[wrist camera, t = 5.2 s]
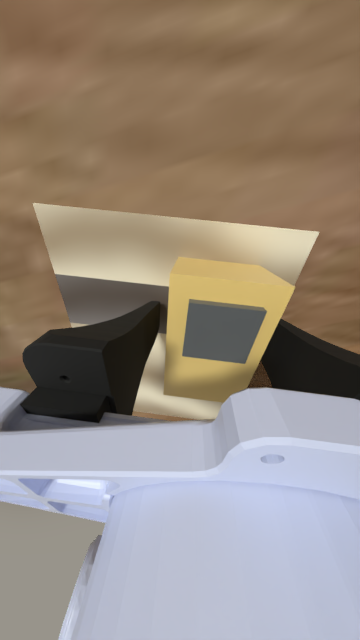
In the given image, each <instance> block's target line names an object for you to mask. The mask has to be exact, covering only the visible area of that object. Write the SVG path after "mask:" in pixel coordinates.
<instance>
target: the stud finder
mask: <svg viewBox="0 0 360 640" xmlns="http://www.w3.org/2000/svg"><path fill="white" fill-rule="evenodd" d="M294 289H295V287H294V286H293V285H291V284H289V283H288V282H286V281H284V280H283V279H281V278H280V277H278V276H276V275H275V274H273V273H271V272H270V271H268V270H266V269H265V268H263V267H261V266H259V265H250V264H241V263H231V262H222V261H213V260H203V259H194V258H185V257H178V259H177V261H176V263H175V265H174V266H173V268H172V270H171V272H170V279H169V298H168V316H167V335H166V354H165V372H164V391H163V395H168V396H176V397H183V398H191V399H199V400H207V401H214V402H222V403H224V402H225V401H226V400H227V399H228V398H229V397H230V396H231V395H232V394H233V393H236V392H239V391H241V390H244V389H246V388H247V387H248V385H249V383H250V381H251V379H252V377H253V375H254V372H255V370H256V368H257V366H258V364H259V362H260V360H261V358H262V356H263V354H264V352H265V350H266V347H267V345H268V343H269V341H270V339H271V337H272V335H273V333H274V331H275V329H276V327H277V325H278V323H279V320H280V318H281V316H282V314H283V312H284V310H285V308H286V306H287V304H288V302H289V300H290V298H291V295H292V293H293V291H294Z"/></svg>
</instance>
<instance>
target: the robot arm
mask: <svg viewBox="0 0 360 640" xmlns="http://www.w3.org/2000/svg"><path fill="white" fill-rule="evenodd" d="M159 327H160V302H158V301H150V302H148V303H146V304H145V305H143V306H141V307H139V308H137V309H135V310H133V311H131V312H129V313H127V314H125V315H122V316H120V317H117V318H114V319H111V320H108V321H104V322H100V323H96V324H92V325H86V326H81V327H74V328H65V329H55V330H49V331H48V332H47V333H45V334H44V335H42V336H41V337H40V338H38V339H37V340H36V341H34V342H33V343H32V344H30V345H29V346H27V347H26V348H25V349H24V352H23V362H24V365H25V367H26V369H27V370H28V372H29V374H30V375H31V377H32V379H33V381H34V382H35V384H36V386H37V388H36V389H35V390H34V391H33V392H32V393H31V394H30V393H28V392H26V391H24V390H20V389H12V388H5V387H0V501H2V502H7V503H13V504H17V505H23V506H28V507H33V508H37V509H42V510H46V511H51V512H56V513H61V514H66V515H70V516H75V517H80V518H84V519H89V520H94V521H98V522H103V523H106V524H105V527H104V530H103V534H102V535H98V536H97V538H96V539H95V540H94V541H93V542H92V543H91V544H90V546H89V549H88V552H87V554H86V556H85V559H84V562H83V565H82V567H81V570H80V573H79V576H78V579H77V582H76V585H75V588H74V591H73V594H72V597H71V600H70V603H69V606H68V609H67V613H66V616H65V619H64V622H63V625H62V628H61V632H60V635H59V638H58V640H360V355H359V354H356V353H354V352H351V351H348V350H345V349H343V348H340V347H338V346H335V345H333V344H330V343H328V342H326V341H323V340H321V339H319V338H317V337H315V336H313V335H311V334H309V333H307V332H305V331H303V330H301V329H299V328H297V327H295V326H293V325H292V324H290V323H288V322H286V321H284V320H282V319H280V320H279V323H278V325H277V327H276V329H275V331H274V333H273V335H272V337H271V339H270V341H269V343H268V345H267V347H266V350H265V352H264V354H263V356H262V358H261V361H262V364H263V366H264V368H265V370H266V372H267V374H268V376H269V379H270V381H271V384H272V387H273V388H268V387H261V388H246V389H244V390H241V391H239V392H236V393H233V394H232V395H231V396H230V397H229V398H228V399H227V400H226V401H225V402H224V403H223V404H222V405H221V408H220V410H219V413H218V416H217V417H216V419H203V420H186V421H167V420H159V419H152V418H144V417H137V416H132V412H133V408H134V404H135V401H136V397H137V393H138V389H139V386H140V382H141V378H142V375H143V371H144V368H145V365H146V362H147V359H148V357H149V355H150V352H151V350H152V347H153V345H154V343H155V340H156V338H157V335H158V331H159Z"/></svg>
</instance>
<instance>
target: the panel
mask: <svg viewBox="0 0 360 640" xmlns="http://www.w3.org/2000/svg"><path fill="white" fill-rule="evenodd" d="M33 206H34V209H35V212H36V215H37V218H38V222H39V225H40V228H41V231H42V234H43V237H44V240H45V244H46V247H47V250H48V253H49V256H50V259H51V263H52V266H53V269H54V272H55V275H56V278H57V282H58V285H59V288H60V291H61V294H62V297H63V301H64V304H65V307H66V310H67V313H68V316H69V319H70V323H71V326H72V328H74V327H81V326H86V325H92V324H96V323H100V322H104V321H108V320H111V319H114V318H117V317H120V316H122V315H125V314H127V313H129V312H131V311H133V310H135V309H137V308H139V307H141V306H143V305H145V304H146V303H148V302H150V301H158V302H160V327H159V331H158V335H157V338H156V340H155V343H154V345H153V347H152V350H151V352H150V355H149V357H148V359H147V362H146V365H145V368H144V371H143V375H142V378H141V382H140V386H139V389H138V393H137V397H136V401H135V404H134V408H133V411H138V412H146V413H153V414H161V415H168V416H176V417H183V418H191V419H199V420H203V419H216V417H217V416H218V413H219V410H220V408H221V405H222V404H223V403H222V402H214V401H207V400H199V399H191V398H183V397H176V396H168V395H163V391H164V372H165V354H166V335H167V316H168V298H169V279H170V272H171V270H172V268H173V266H174V265H175V263H176V261H177V259H178V257H185V258H194V259H203V260H213V261H222V262H231V263H241V264H250V265H259V266H261V267H263V268H265V269H266V270H268V271H270V272H271V273H273V274H275V275H276V276H278V277H280V278H281V279H283V280H284V281H286V282H288V283H289V284H291V285H293V286H294V285H295V282H296V280H297V278H298V276H299V274H300V272H301V270H302V268H303V266H304V263H305V261H306V259H307V257H308V255H309V253H310V251H311V249H312V247H313V244H314V242H315V240H316V238H317V236H318V234H319V232H314V231H304V230H294V229H285V228H275V227H265V226H255V225H245V224H235V223H225V222H215V221H206V220H196V219H186V218H176V217H166V216H156V215H146V214H136V213H127V212H117V211H107V210H97V209H87V208H77V207H67V206H57V205H48V204H38V203H33Z"/></svg>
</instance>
